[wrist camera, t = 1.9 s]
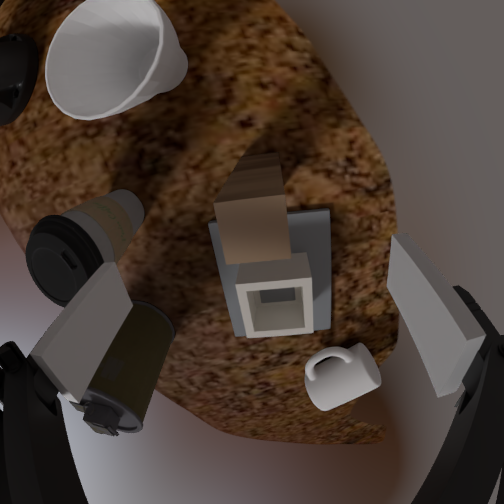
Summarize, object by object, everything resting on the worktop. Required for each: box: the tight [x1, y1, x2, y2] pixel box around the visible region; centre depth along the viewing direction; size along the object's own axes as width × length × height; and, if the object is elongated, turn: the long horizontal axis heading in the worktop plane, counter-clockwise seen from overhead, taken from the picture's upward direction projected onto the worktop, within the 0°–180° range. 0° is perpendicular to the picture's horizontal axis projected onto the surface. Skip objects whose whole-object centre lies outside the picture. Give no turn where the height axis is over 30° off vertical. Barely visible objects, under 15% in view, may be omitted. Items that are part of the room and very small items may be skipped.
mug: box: [305, 343, 381, 411], centre depth 40 cm, size 12×10×8 cm
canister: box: [69, 300, 175, 436], centre depth 34 cm, size 11×10×20 cm
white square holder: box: [235, 252, 313, 338], centre depth 34 cm, size 8×8×6 cm
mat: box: [208, 208, 331, 336], centre depth 37 cm, size 18×14×1 cm
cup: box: [45, 0, 188, 120], centre depth 19 cm, size 10×10×14 cm
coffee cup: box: [26, 189, 144, 308], centre depth 27 cm, size 9×9×15 cm
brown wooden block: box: [213, 152, 291, 265], centre depth 24 cm, size 4×4×16 cm
